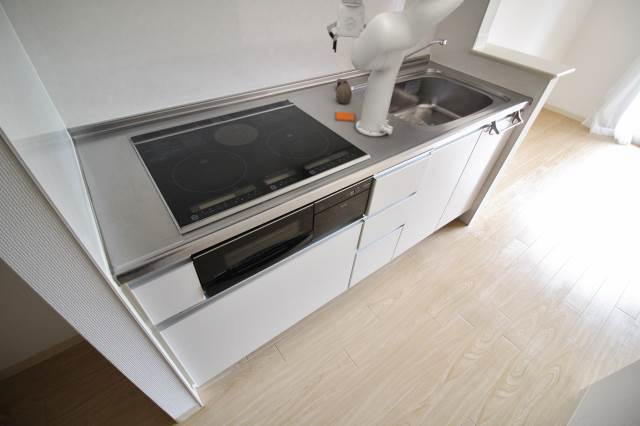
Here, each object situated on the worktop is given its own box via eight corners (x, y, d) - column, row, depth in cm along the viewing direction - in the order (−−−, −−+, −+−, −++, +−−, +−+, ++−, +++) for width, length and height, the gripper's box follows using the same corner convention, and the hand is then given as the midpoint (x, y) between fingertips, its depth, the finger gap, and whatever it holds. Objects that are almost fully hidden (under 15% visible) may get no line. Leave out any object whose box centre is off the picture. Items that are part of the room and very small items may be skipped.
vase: (351, 106, 126) (353, 85, 120) (335, 105, 126) (337, 84, 120) (350, 99, 131) (352, 79, 125) (335, 98, 131) (337, 78, 125)
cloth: (353, 114, 120) (353, 113, 119) (354, 121, 115) (354, 119, 115) (336, 113, 120) (336, 111, 119) (336, 120, 115) (336, 118, 115)
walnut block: (345, 87, 140) (346, 79, 138) (345, 91, 137) (346, 82, 135) (336, 87, 140) (337, 78, 138) (336, 90, 137) (337, 82, 135)
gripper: (328, -1, 100) (325, 53, 111) (377, 2, 99) (369, 56, 111) (329, -4, 105) (325, 48, 117) (376, -1, 105) (368, 51, 117)
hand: (347, 52), depth 114 cm, fingers open, 9 cm apart
